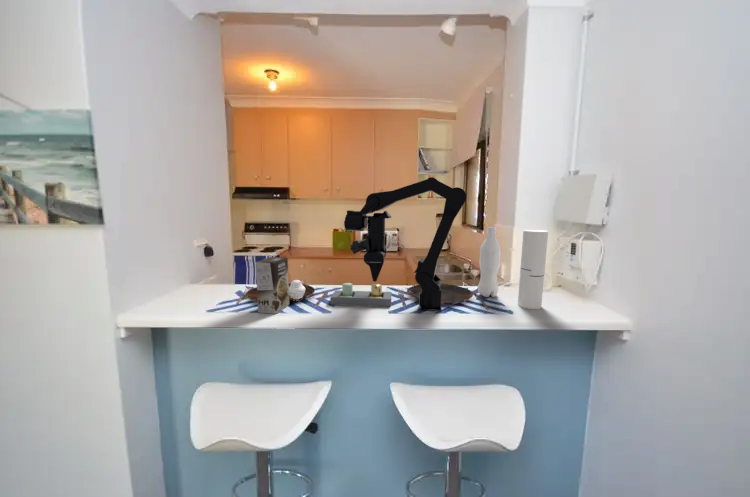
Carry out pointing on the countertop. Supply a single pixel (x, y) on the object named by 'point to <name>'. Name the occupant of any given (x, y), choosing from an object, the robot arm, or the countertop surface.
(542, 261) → the cylindrical container
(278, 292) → the coffee box
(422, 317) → the countertop surface
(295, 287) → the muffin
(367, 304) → the panel
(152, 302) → the countertop surface
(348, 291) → the sage plug
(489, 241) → the water bottle
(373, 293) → the brass plug
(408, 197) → the robot arm
